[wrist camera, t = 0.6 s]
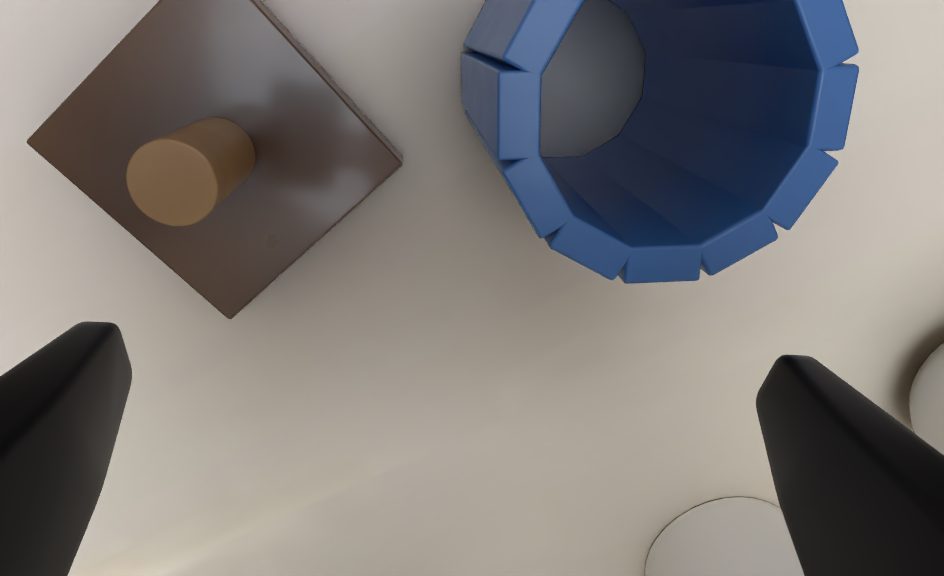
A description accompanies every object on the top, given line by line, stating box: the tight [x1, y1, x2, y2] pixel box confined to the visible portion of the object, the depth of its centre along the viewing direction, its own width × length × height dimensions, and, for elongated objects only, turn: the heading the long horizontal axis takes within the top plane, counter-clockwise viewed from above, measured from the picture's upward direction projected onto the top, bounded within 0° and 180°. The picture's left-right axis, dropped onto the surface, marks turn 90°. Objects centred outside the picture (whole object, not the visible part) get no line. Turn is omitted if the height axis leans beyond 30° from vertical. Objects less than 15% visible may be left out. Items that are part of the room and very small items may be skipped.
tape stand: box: [27, 0, 403, 319], centre depth 19 cm, size 8×8×6 cm
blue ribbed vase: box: [461, 0, 859, 283], centre depth 17 cm, size 7×7×10 cm
